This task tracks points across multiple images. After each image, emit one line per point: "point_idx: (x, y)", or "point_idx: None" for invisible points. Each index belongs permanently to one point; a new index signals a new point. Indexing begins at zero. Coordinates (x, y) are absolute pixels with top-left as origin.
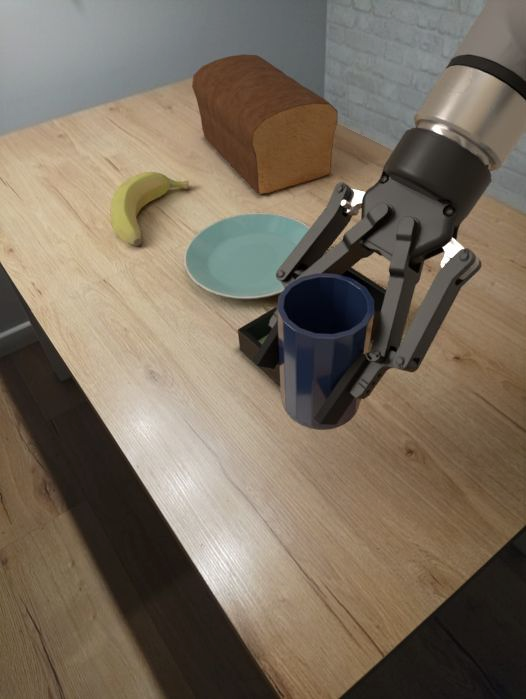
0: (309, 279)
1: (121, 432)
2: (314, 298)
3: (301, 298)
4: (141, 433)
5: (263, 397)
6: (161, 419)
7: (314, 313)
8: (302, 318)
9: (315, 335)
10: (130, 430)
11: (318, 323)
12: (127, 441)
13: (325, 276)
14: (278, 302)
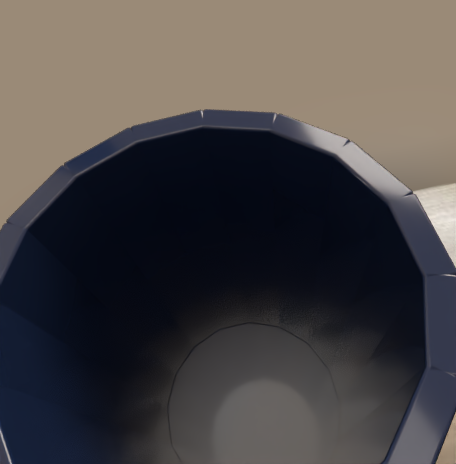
0: (424, 310)
1: (443, 192)
2: (390, 379)
3: (389, 305)
4: (432, 215)
5: (451, 423)
6: (451, 245)
7: (372, 398)
8: (369, 347)
9: (66, 171)
10: (443, 203)
11: (360, 425)
12: (424, 196)
13: (413, 406)
14: (309, 124)
